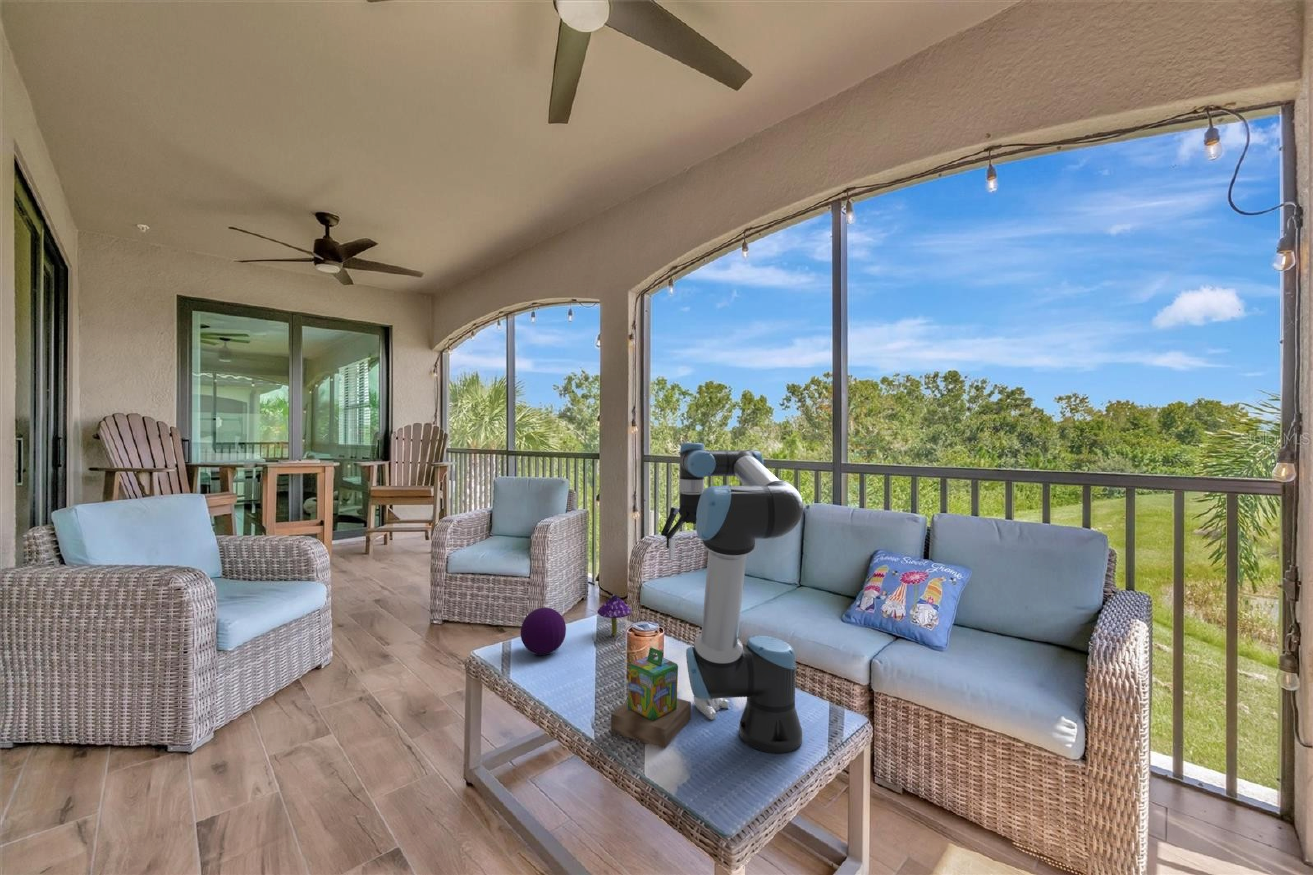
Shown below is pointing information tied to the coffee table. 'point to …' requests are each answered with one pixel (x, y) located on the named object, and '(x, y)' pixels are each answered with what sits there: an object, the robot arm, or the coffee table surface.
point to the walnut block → (651, 724)
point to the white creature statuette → (710, 706)
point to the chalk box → (653, 685)
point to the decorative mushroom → (614, 611)
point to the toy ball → (543, 631)
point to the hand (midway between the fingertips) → (691, 561)
